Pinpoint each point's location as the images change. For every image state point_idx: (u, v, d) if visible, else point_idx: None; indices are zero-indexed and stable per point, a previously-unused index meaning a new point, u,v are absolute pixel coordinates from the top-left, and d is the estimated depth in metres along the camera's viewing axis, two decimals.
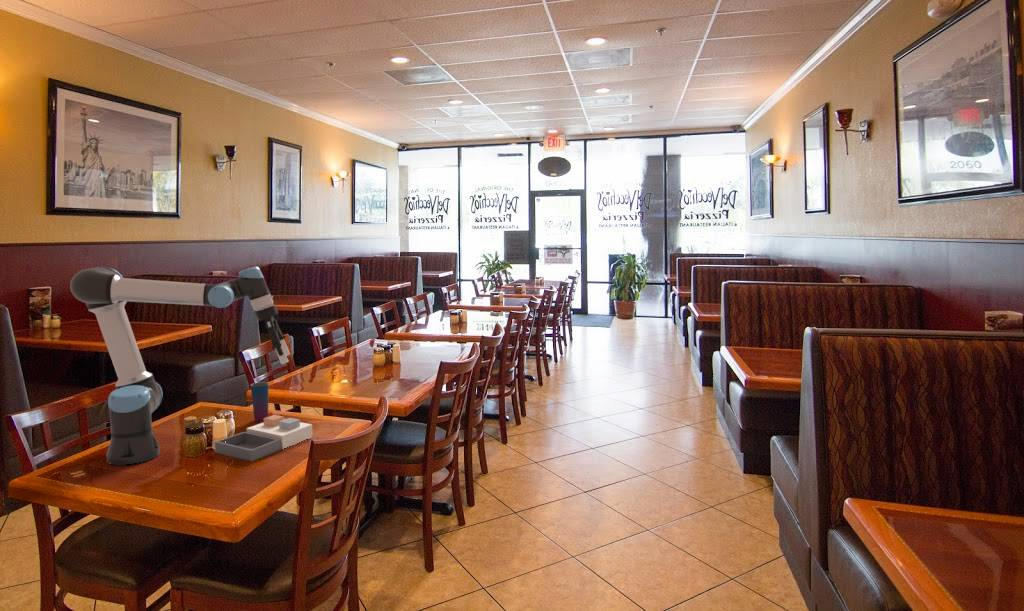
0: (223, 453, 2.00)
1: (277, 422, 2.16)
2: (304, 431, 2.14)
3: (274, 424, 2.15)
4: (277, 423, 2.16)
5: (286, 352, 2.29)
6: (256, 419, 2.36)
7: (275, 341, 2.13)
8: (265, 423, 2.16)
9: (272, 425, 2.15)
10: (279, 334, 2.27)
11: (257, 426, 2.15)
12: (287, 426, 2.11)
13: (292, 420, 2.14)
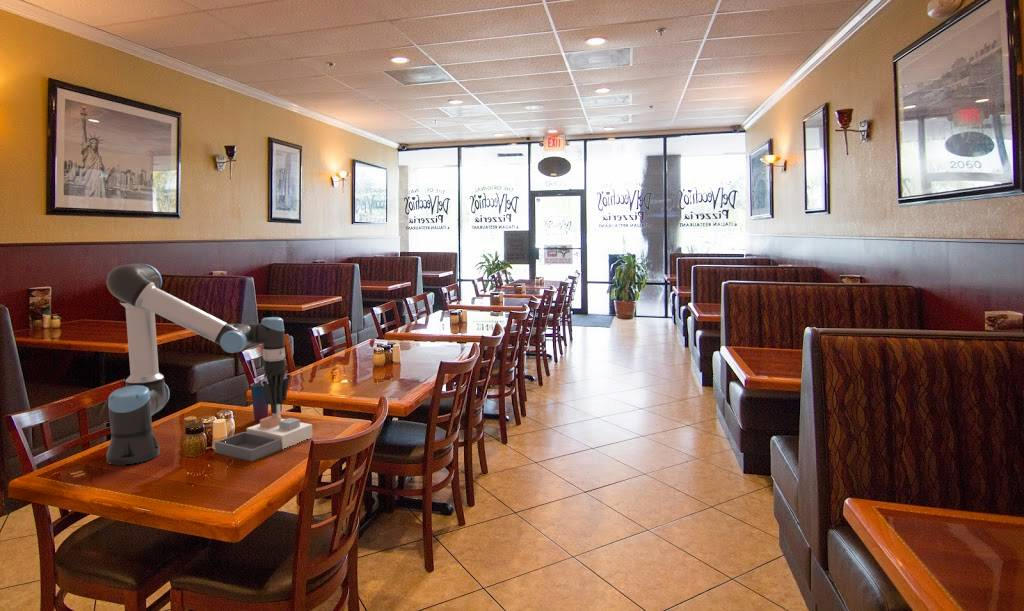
0: (223, 453, 2.00)
1: (273, 423, 2.15)
2: (304, 431, 2.14)
3: (270, 425, 2.14)
4: (273, 424, 2.15)
5: None
6: (256, 419, 2.36)
7: (267, 400, 2.15)
8: (261, 424, 2.15)
9: (268, 426, 2.13)
10: (278, 394, 2.19)
11: (257, 426, 2.15)
12: (287, 426, 2.11)
13: (292, 420, 2.14)
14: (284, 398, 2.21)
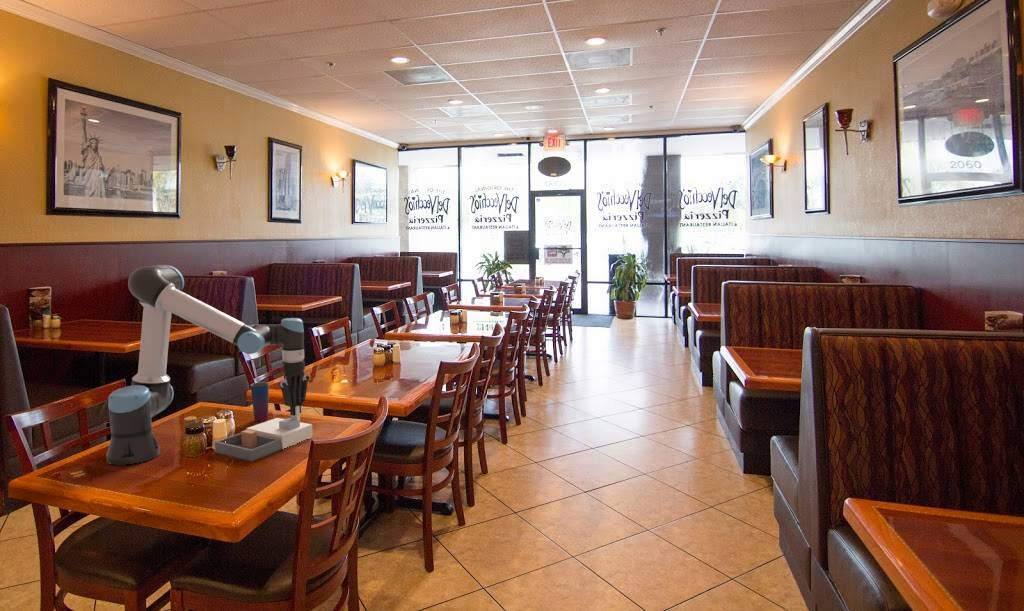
0: (223, 453, 2.00)
1: (254, 441, 2.07)
2: (304, 431, 2.14)
3: (255, 444, 2.08)
4: (255, 440, 2.08)
5: None
6: (256, 419, 2.36)
7: (287, 402, 2.13)
8: None
9: None
10: (297, 396, 2.16)
11: (257, 426, 2.15)
12: (287, 426, 2.11)
13: (292, 420, 2.14)
14: (303, 400, 2.18)
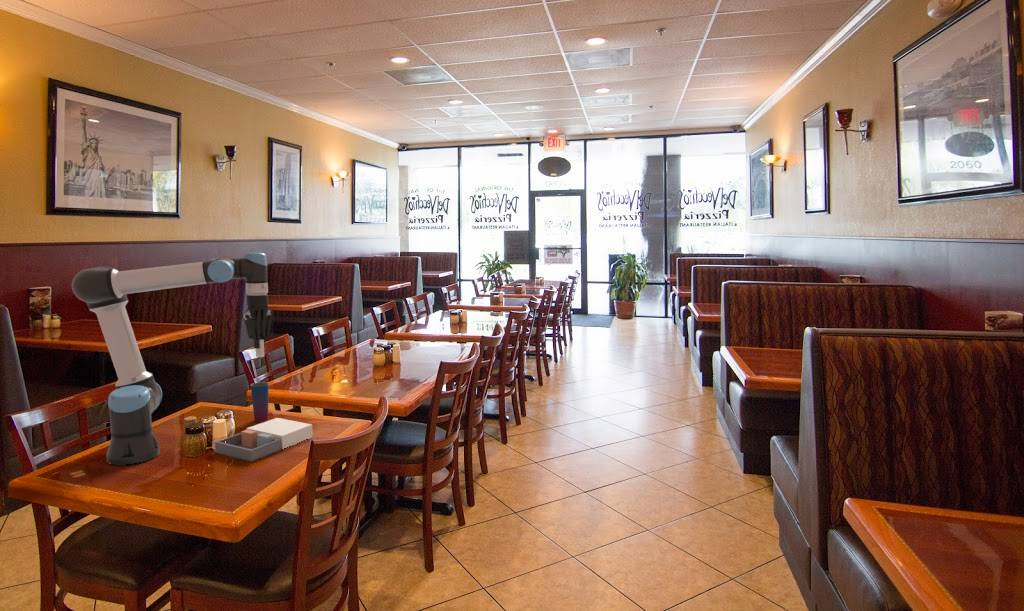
0: (223, 453, 2.00)
1: (254, 441, 2.07)
2: (304, 431, 2.14)
3: (255, 444, 2.08)
4: (255, 440, 2.08)
5: None
6: (256, 419, 2.36)
7: (250, 335, 2.16)
8: None
9: None
10: (261, 329, 2.20)
11: (257, 426, 2.15)
12: None
13: (263, 442, 2.03)
14: (267, 334, 2.22)
